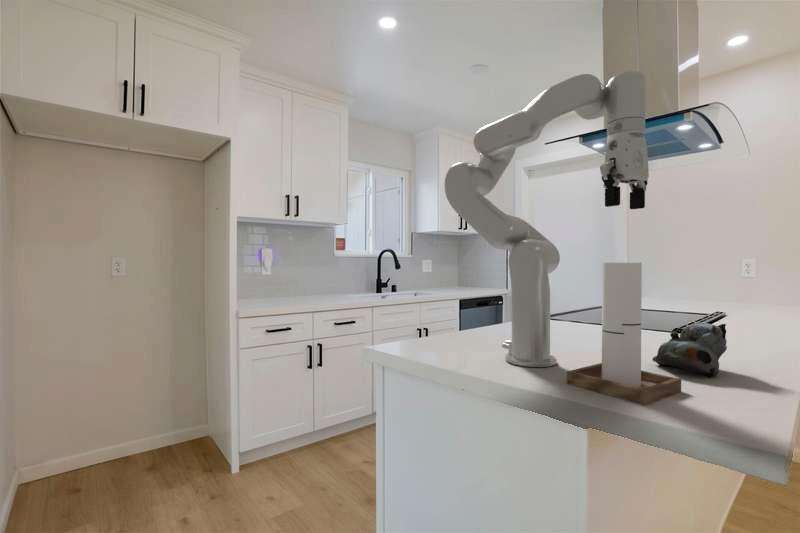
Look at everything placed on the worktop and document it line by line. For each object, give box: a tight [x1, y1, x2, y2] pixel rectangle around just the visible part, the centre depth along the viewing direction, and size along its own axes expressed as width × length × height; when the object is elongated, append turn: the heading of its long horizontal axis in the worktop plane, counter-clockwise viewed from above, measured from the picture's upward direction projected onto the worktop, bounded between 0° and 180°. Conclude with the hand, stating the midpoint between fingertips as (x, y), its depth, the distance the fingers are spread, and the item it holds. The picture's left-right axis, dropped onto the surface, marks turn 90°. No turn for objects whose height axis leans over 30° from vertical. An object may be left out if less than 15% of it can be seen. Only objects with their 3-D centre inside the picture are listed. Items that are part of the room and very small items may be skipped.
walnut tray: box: [566, 362, 682, 406], centre depth 84 cm, size 16×14×2 cm
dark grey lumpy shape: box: [651, 322, 728, 378], centre depth 96 cm, size 15×12×14 cm
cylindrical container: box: [601, 261, 643, 388], centre depth 84 cm, size 7×7×25 cm
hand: (625, 207), depth 92 cm, fingers open, 9 cm apart
